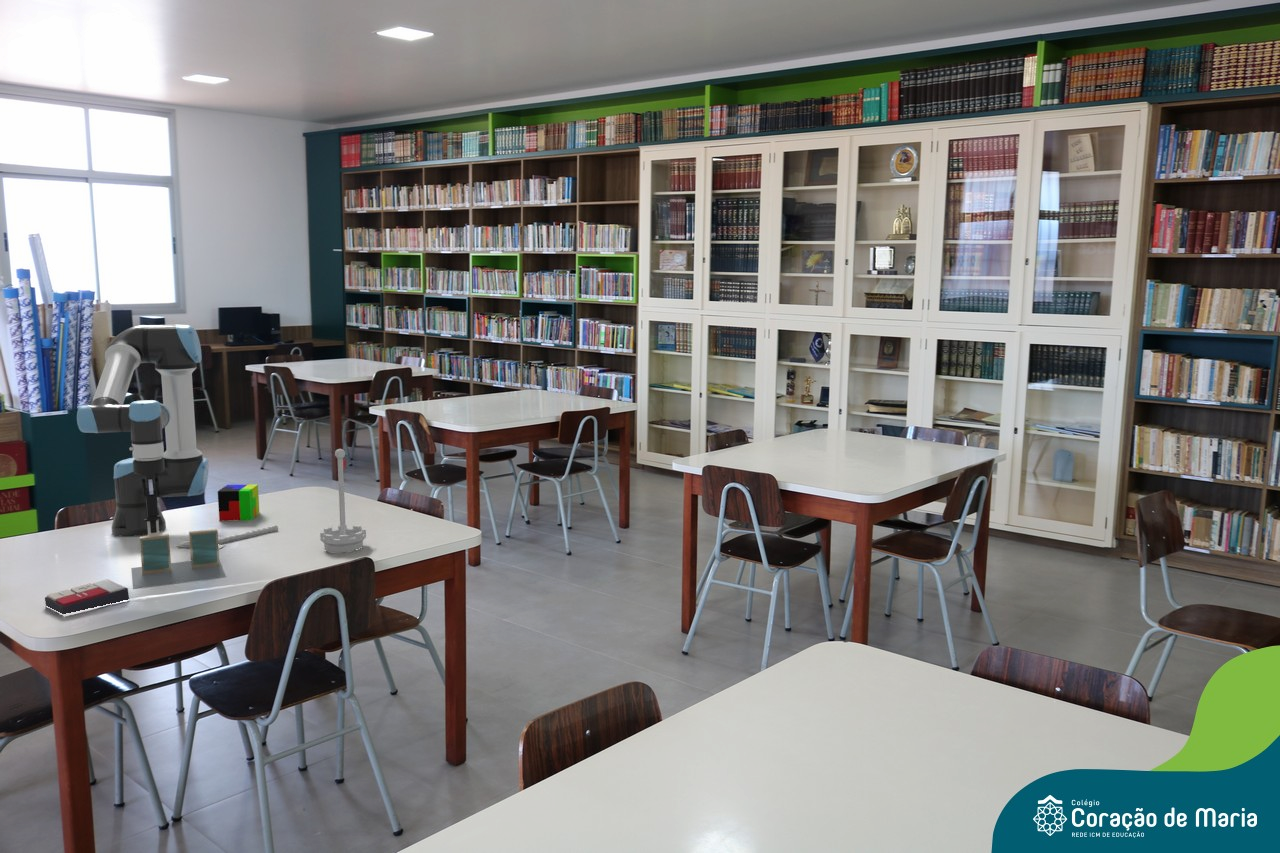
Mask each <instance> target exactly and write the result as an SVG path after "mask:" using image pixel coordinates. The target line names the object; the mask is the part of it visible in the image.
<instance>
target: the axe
mask: <svg viewBox="0 0 1280 853" xmlns="http://www.w3.org/2000/svg"><path fill="white" fill-rule="evenodd" d="M278 531H279V526H278V525H277V524H273V525H271V526H267V527H262V528H260V529H255V530H251V531H245V532H243V533H239V534H238V533H236V534H234V535H228V536H224V537H221V538H220V537H218V544H219V545H218V548H219V550H220V549H223V548H224V547H226V545H223V544H228V543H232V542H235V541H240V540H244V539H248V538H251V537H252V538H253V537H256V536H261V535H264V534H269V533H273V532H274V533H275V532H278ZM176 548H187V549H188V548H189V549H190V541H186V542H182V543H180V544H178V545H176Z"/></svg>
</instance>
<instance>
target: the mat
mask: <svg viewBox="0 0 1280 853" xmlns="http://www.w3.org/2000/svg"><path fill="white" fill-rule="evenodd" d="M130 570H131V581H132V582H131V583H132V590H138V589H145V588H152V587H160V586H169V585H175V584H184V583H192V582H198V581H206V580H207V581H208V580H214V579H215V580H216V579H222V578H226V577H227V576H226V573H225V570H224V568H223V565H222V563H221V560H220V559H219V565H216V566H208V567H200V568H191V560H187V561H179V562H171V571H168V572H160V573H152V574H144V575H142V566H137V567H131V569H130Z"/></svg>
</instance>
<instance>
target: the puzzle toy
mask: <svg viewBox="0 0 1280 853" xmlns="http://www.w3.org/2000/svg"><path fill="white" fill-rule="evenodd" d="M259 495H260V494H259V484H257V483H256V484H226V485H225V486H223V487H222V488H220V489H219V490H218V491H217V504H218V520H219V522H223V521H222V520H224V522H225V521H228V522H229V520H238V521H252V520H253V519H254V518H255V517H257V515H259V514H260V499H259V498H260V497H259Z"/></svg>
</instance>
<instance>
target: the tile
mask: <svg viewBox="0 0 1280 853" xmlns="http://www.w3.org/2000/svg"><path fill="white" fill-rule="evenodd" d="M170 544H171V543H170V534H169V533H165V534H159V535H153V536H148V535H143V536H139V546H140V548H139V549H140V560H141V567H142V575H144V574H152V573H160V572H168V571H171V563H172V558H171V545H170Z"/></svg>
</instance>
